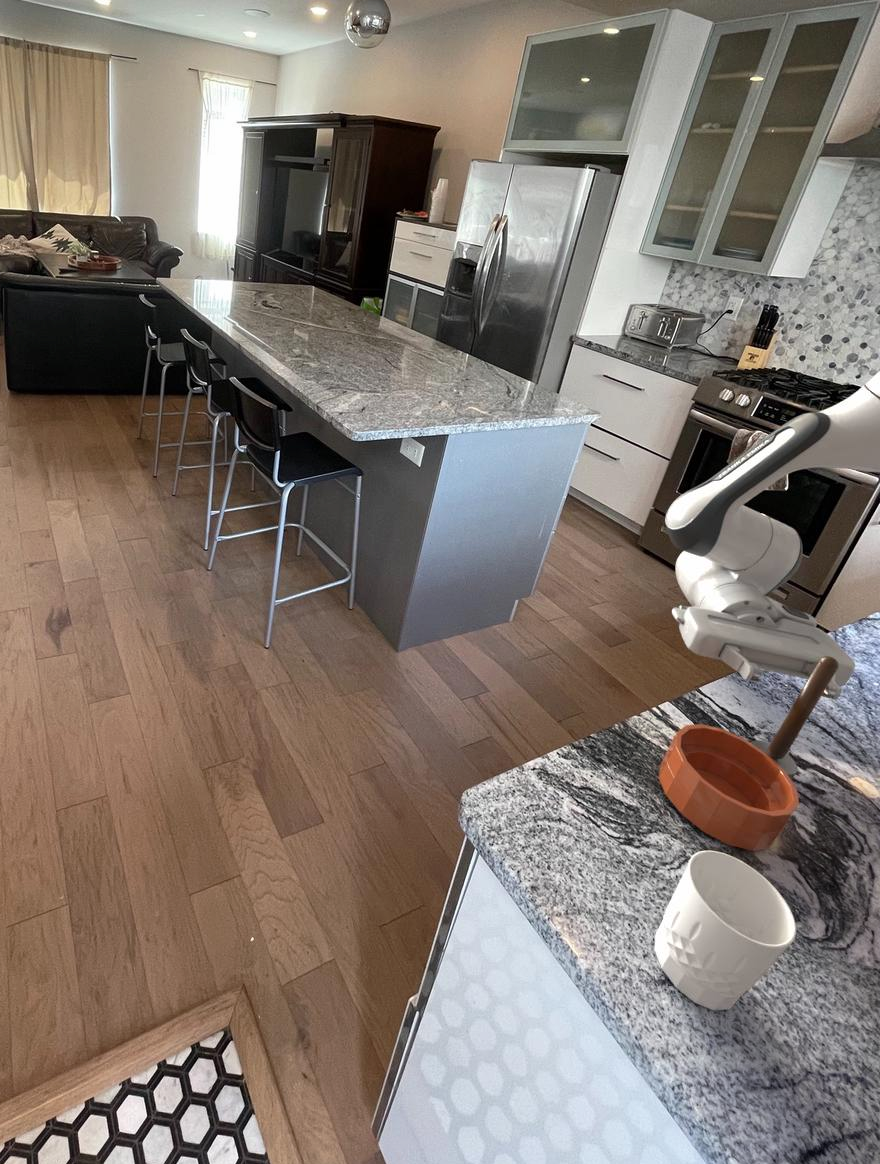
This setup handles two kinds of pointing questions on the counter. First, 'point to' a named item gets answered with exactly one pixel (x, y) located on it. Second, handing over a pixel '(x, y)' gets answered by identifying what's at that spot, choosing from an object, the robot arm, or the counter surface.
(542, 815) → the counter surface
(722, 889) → the white cup
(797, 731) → the wooden peg on disc
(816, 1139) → the counter surface
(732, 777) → the bowl
